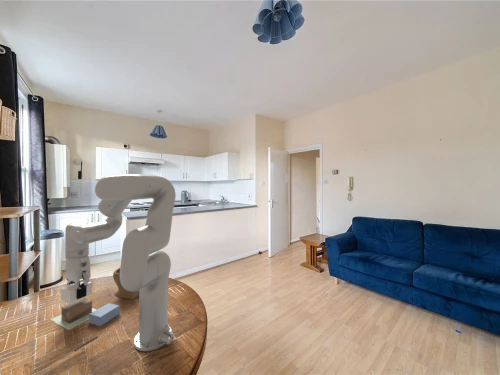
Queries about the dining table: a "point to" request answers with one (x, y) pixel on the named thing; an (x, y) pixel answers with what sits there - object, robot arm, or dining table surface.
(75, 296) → the brick
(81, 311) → the brick
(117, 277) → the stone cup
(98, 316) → the brick
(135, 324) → the dining table surface
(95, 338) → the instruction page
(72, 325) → the build board
